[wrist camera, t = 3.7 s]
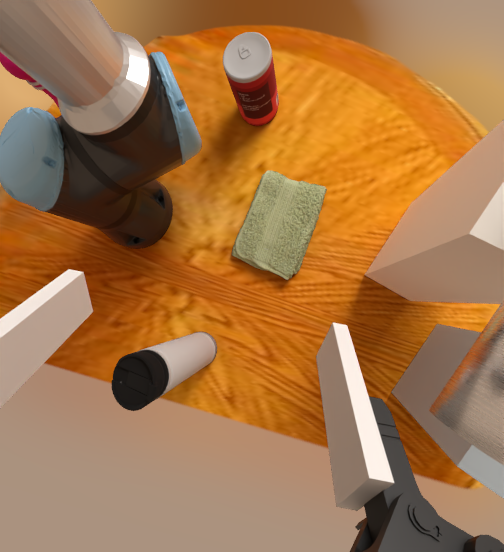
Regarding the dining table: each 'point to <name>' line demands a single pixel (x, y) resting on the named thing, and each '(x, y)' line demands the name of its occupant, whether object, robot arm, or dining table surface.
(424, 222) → the tall stand
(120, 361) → the travel mug
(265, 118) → the canned food
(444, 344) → the low stand
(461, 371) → the grey piece
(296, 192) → the washcloth
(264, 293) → the dining table surface
